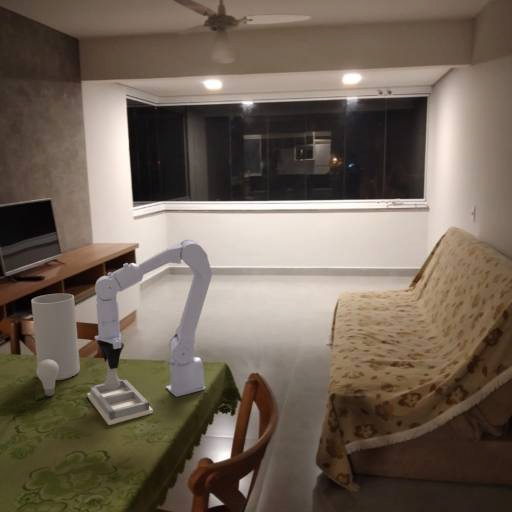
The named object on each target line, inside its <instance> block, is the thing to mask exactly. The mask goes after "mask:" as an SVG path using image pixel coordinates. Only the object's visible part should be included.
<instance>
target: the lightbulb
mask: <svg viewBox="0 0 512 512" xmlns="http://www.w3.org/2000/svg"><path fill="white" fill-rule="evenodd" d="M58 373H59V366H58V364H57V363H56V362H55V361H53V360H50V359H47V360H43V361H42V362H40V363H39V364H37V366H36V375H37V378H39V380H40V381H41V383H42V386H43V390H44V394H45V396H47V397H52V396H53V395H54V394H55V387H56V381H55V380H56V377H57V375H58Z"/></svg>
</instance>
